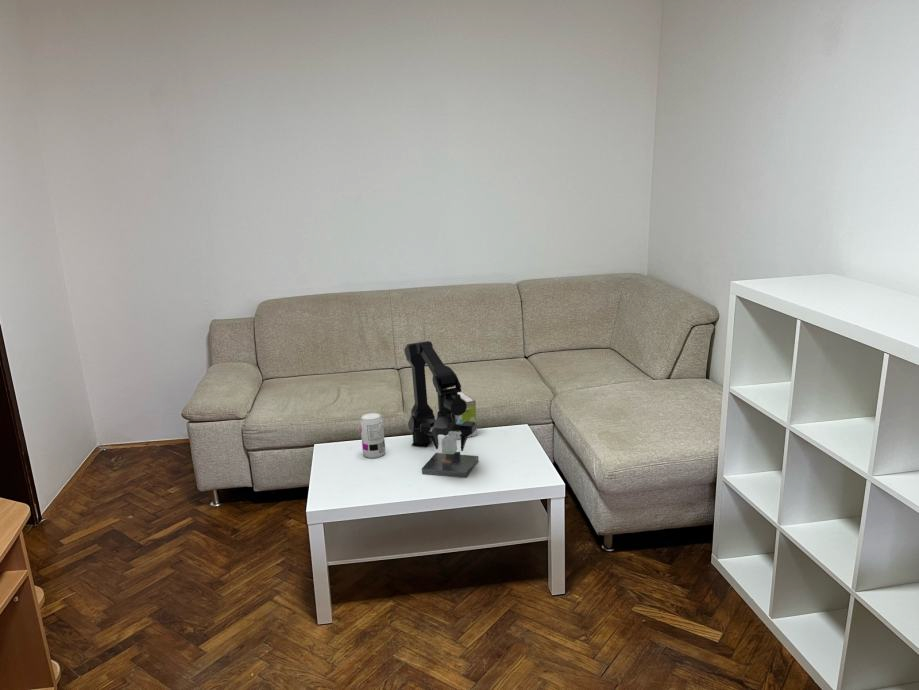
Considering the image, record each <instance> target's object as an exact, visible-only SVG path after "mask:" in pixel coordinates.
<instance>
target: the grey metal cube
mask: <svg viewBox="0 0 919 690" xmlns="http://www.w3.org/2000/svg"><path fill="white" fill-rule="evenodd" d="M457 442H458V441H457V439H456V436H450V435H444V436H443V437H442V439H441V452H442V453H443V454H454V453H455V452H458V451H457V450H458V445H457V444H458V443H457Z"/></svg>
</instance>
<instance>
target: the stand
mask: <svg viewBox="0 0 919 690" xmlns="http://www.w3.org/2000/svg"><path fill="white" fill-rule="evenodd" d="M479 461H480V460H479V455H470V454H468V455H467V454H461V451H456V452H455V453H454V454H443V453H441V452H435V453H434V454H433V455H432V456H431V457H430V458H429V460H428V461H427V462H426V463H425V464H424V466H423V467H422V468H421V473H422V475H429V476H438V477H439V476H441V477H442V476H443V477H453V478H465V479H466V478H468V476H469V475H470V473H472V471H473V470H474V468H476V465H477V464H478V463H479Z"/></svg>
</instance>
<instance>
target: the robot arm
mask: <svg viewBox="0 0 919 690" xmlns="http://www.w3.org/2000/svg"><path fill="white" fill-rule="evenodd" d="M404 355H405V357H406V361H407V362H408V363H409V364H410V366H411V374H412V375H411V376H412V386H413V396H414V398H413V399H414V404H413V407H412V408H411V411H410V414H411V415H410V418H409V420H408V422H407V426H408V429H409V430H410V431H411V432H412V444H411V446H412V447H422V448H423V447H424V448H428V447H429V446H430V445H431V444H432V443H433V445H434V448H435V449H436V450H438V449H439V435H440V436H449V432H450V431H454V430H460V432H461V434H460V437H461V439H460V452H463V451H464V449H465V447H466V443H467V440H468V438H469V437H468V436H469V435H471V434H473V433H474V431H475V430H476V423H477V422H476V423H475V422H471V421H465V422H464V423H463V424H456V422H457V419H456V415H457V416H459V415H462V414H463V413H464V412H465V411H466V408H467V404H466V402H465V401H464V400H463V399H461V396H460V395H459V394H458V392H462V391H463V390H462V384H461V382H460V380H459V378H458V375H457V373H455V371H454V370H453V369H452V368H451V367H450V366H447V365H445V364H444V363H443V362H442V360H441V358H440V357H439V355H438V354H437V351H436V350H435V348H434V347H433V343H432V341H429V340H426V341H418V342H412V343H408V344H406V346H405V347H404ZM426 365H427V367H428V368H429V369H428V370H430V372H431V374H432V379H431V381H432V384H433V386H434V388H435V392H436V393H437V405H438V406H437V408H438V411H437V413H436V414H437V415H436V417H435V415H434V410H433V409H432V408H431V407H430V405H429V403H428V393H427V382H426V381H427V379H426V370H425V367H426Z"/></svg>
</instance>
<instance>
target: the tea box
mask: <svg viewBox="0 0 919 690" xmlns="http://www.w3.org/2000/svg"><path fill="white" fill-rule="evenodd" d="M461 391H462V392H458V394H459V395H460V396H461V399H463V400H464V401H465V402H466V404H467V408H466V411H465V412H464V413H463V414H462V415H459V416H457V415H456V419H457V422H456V424H463V423H464V422H465V421H471V422H475V423H476V430H475V431H474V433H473V434H471V435H469V436H468V437H467V438H471V436H472V437H477V435H478V428H477V427H478V426H477V424H478V423H477V408H476V407H477V404H476V399H475V398H473V397H471V396H470V395H469V394H467V393H466V392H464V391H463V390H461ZM460 434H461V432H460V430H454V431H450V432H449V434H448V436H456V440H461V437H460Z"/></svg>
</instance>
